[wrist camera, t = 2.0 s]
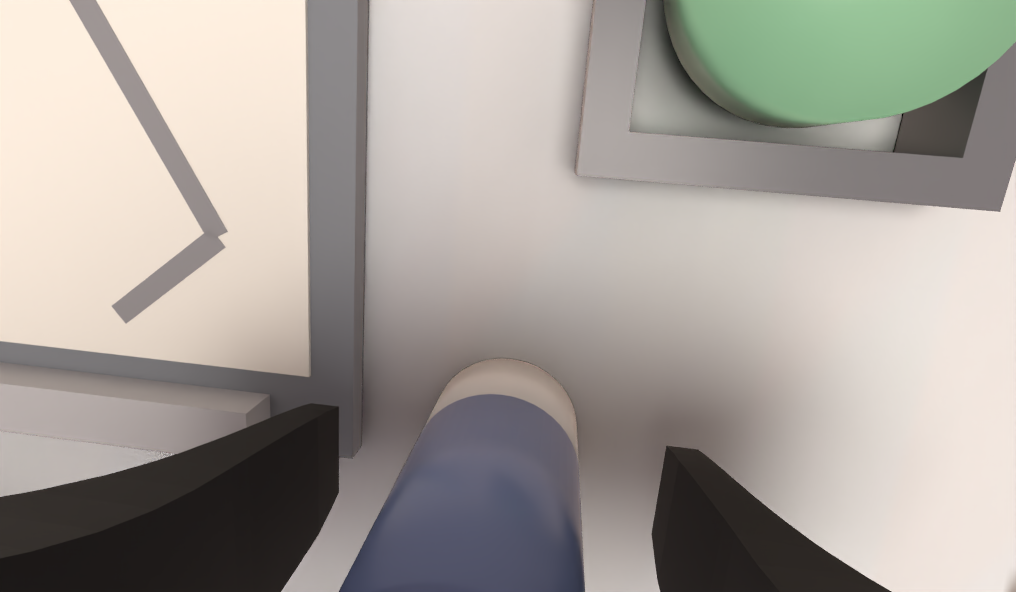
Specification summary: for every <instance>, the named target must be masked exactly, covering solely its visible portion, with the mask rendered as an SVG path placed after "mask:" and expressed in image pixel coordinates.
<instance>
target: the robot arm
mask: <svg viewBox="0 0 1016 592" xmlns="http://www.w3.org/2000/svg"><path fill="white" fill-rule="evenodd" d="M338 493H339V406H330V405H322V404H314V403H310V404H306V405H303V406H300V407H297V408H294V409H291V410H289V411H286V412H283V413H281V414H278V415H276V416H273V417H271V418H268V419H266V420H264V421H261V422H259V423H256V424H254V425H251V426H249V427H247V428H244V429H242V430H239V431H237V432H234V433H232V434H229V435H227V436H224V437H222V438H219V439H216V440H213V441H211V442H208V443H205V444H203V445H200V446H197V447H195V448H192V449H189V450H186V451H184V452H181V453H178V454H175V455H172V456H169V457H167V458H163V459H160V460H157V461H154V462H151V463H148V464H144V465H141V466H137V467H134V468H130V469H127V470H123V471H120V472H116V473H112V474H108V475H105V476H100V477H96V478H91V479H87V480H82V481H78V482H74V483H69V484H65V485H60V486H56V487H51V488H47V489H42V490H37V491H32V492H27V493H21V494H15V495H10V496H4V497H0V592H281V591H282V589H283V588H284V586H285V585H286V583H287V582H288V580H289V579H290V577H291V576H292V574H293V573H294V571H295V570H296V568H297V567H298V565H299V564H300V562H301V561H302V559H303V557H304V556H305V554H306V553H307V551H308V550H309V548H310V547H311V545H312V544H313V542H314V541H315V539H316V537H317V536H318V534H319V532H320V530H321V528H322V526H323V524H324V522H325V520H326V518H327V516H328V514H329V512H330V510H331V508H332V506H333V503H334V501H335V499H336V497H337V495H338ZM652 540H653V549H654V557H655V565H656V572H657V579H658V584H659V588H660V592H891V591H889V590H888V589H886V588H884V587H883V586H881V585H879V584H877V583H876V582H874V581H872V580H871V579H869V578H867V577H866V576H864V575H862V574H861V573H859V572H858V571H856V570H855V569H853V568H852V567H850V566H848V565H847V564H845V563H844V562H842V561H841V560H839V559H837V558H836V557H834V556H833V555H831V554H830V553H828V552H827V551H825V550H824V549H822V548H821V547H819V546H818V545H817V544H815V543H814V542H812V541H811V540H809V539H808V538H807V537H805V536H804V535H803V534H801V533H800V532H799V531H797V530H796V529H795V528H793V527H792V526H791V525H789V524H788V523H787V522H785V521H784V520H783V519H781V518H780V517H779V516H778V515H776V514H775V513H774V512H773V511H771V510H770V509H769V508H768V507H766V506H765V505H764V504H763V503H761V502H760V501H759V500H758V499H757V498H755V497H754V496H753V495H752V494H751V493H749V492H748V491H747V490H746V489H745V488H743V487H742V486H741V485H740V484H739V483H738V482H736V481H735V480H734V479H733V478H732V477H731V476H729V475H728V474H727V473H726V472H725V471H724V470H722V469H721V468H720V467H719V466H718V465H717V464H715V463H714V462H713V461H712V460H711V459H709V458H708V457H707V456H706V455H704V454H703V453H702V452H700V451H699V450H696V449H688V448H680V447H671V446H666V452H665V458H664V464H663V470H662V476H661V482H660V488H659V494H658V499H657V505H656V511H655V517H654V523H653V529H652Z"/></svg>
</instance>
